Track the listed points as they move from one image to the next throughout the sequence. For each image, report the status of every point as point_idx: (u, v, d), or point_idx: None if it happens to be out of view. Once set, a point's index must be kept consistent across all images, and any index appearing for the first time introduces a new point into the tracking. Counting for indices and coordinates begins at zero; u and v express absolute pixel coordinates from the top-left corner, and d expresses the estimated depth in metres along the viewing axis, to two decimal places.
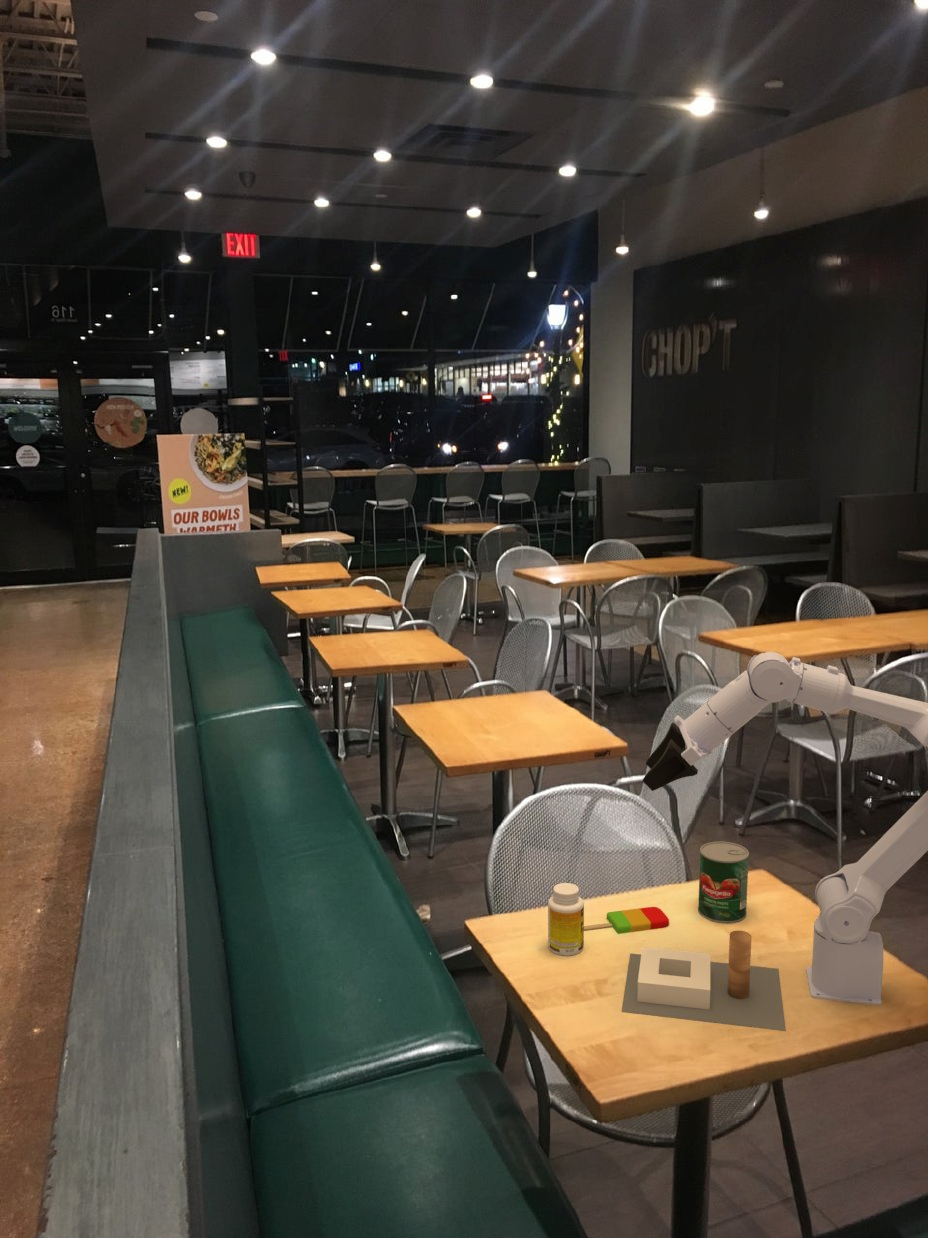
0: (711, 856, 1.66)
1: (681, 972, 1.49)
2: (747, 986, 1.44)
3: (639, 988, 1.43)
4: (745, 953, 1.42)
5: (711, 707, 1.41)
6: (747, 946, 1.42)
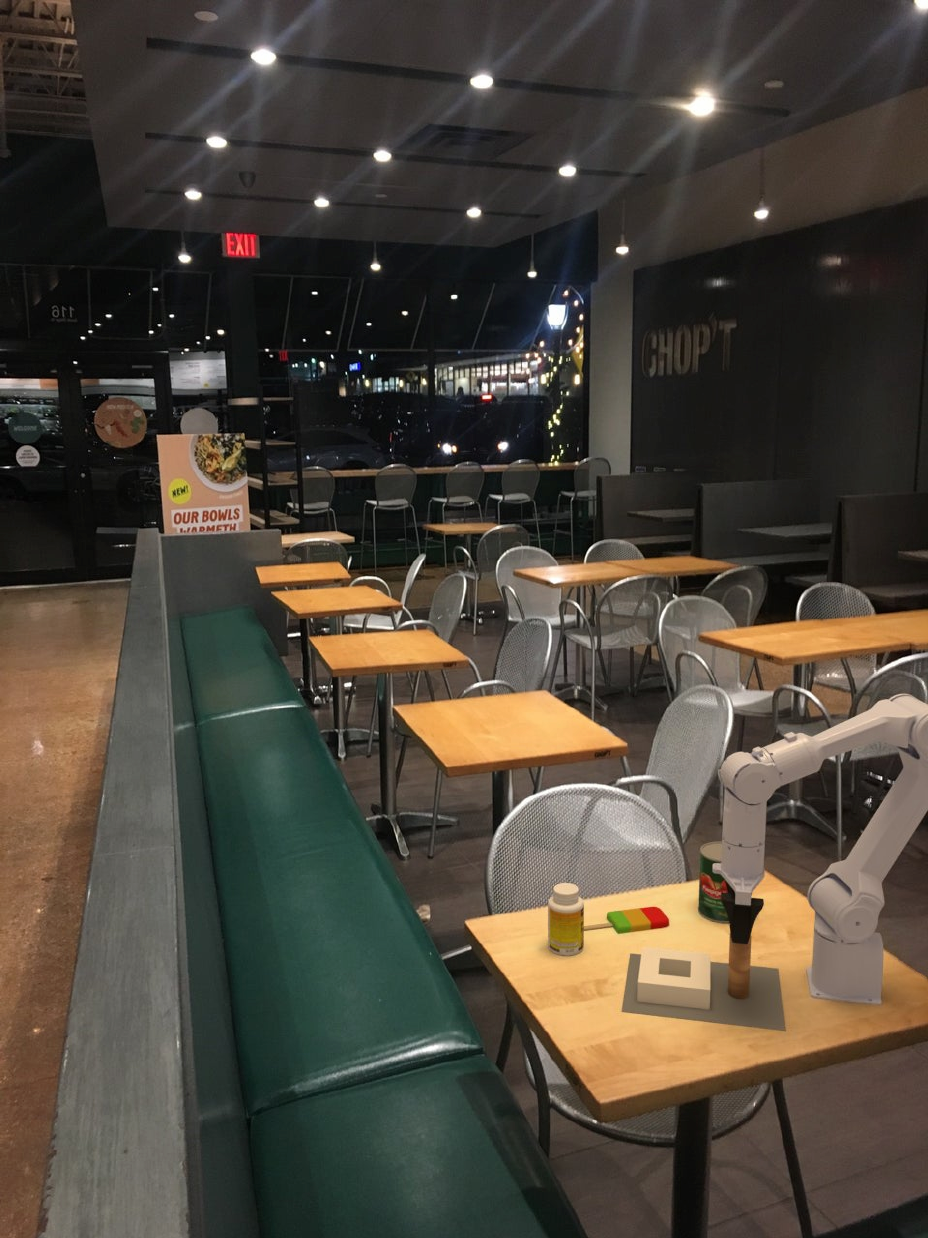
0: (711, 856, 1.66)
1: (681, 972, 1.49)
2: (747, 986, 1.44)
3: (639, 988, 1.43)
4: (745, 953, 1.42)
5: (732, 842, 1.39)
6: (747, 946, 1.42)
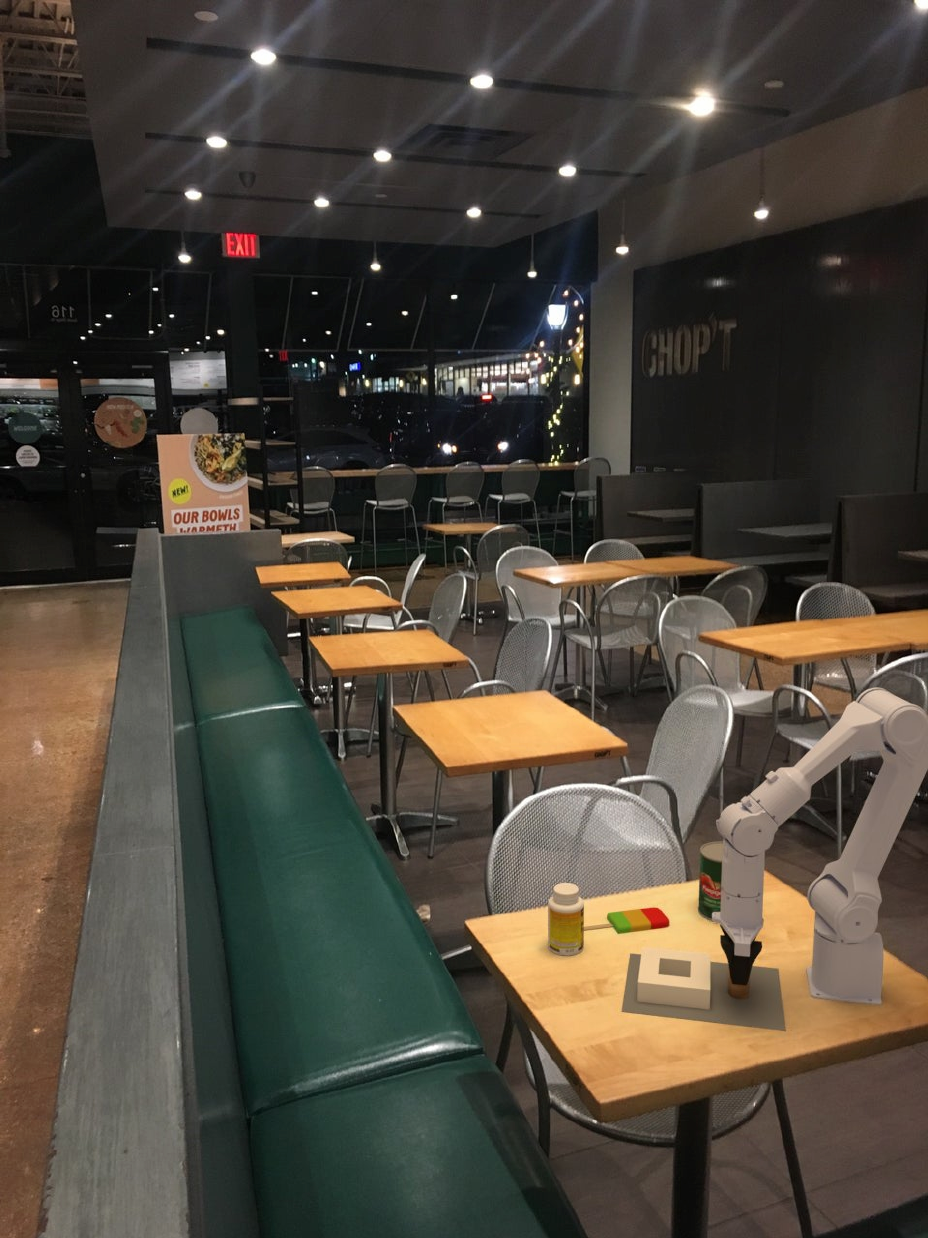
0: (711, 856, 1.66)
1: (681, 972, 1.49)
2: (747, 986, 1.44)
3: (639, 988, 1.43)
4: None
5: (731, 893, 1.40)
6: None
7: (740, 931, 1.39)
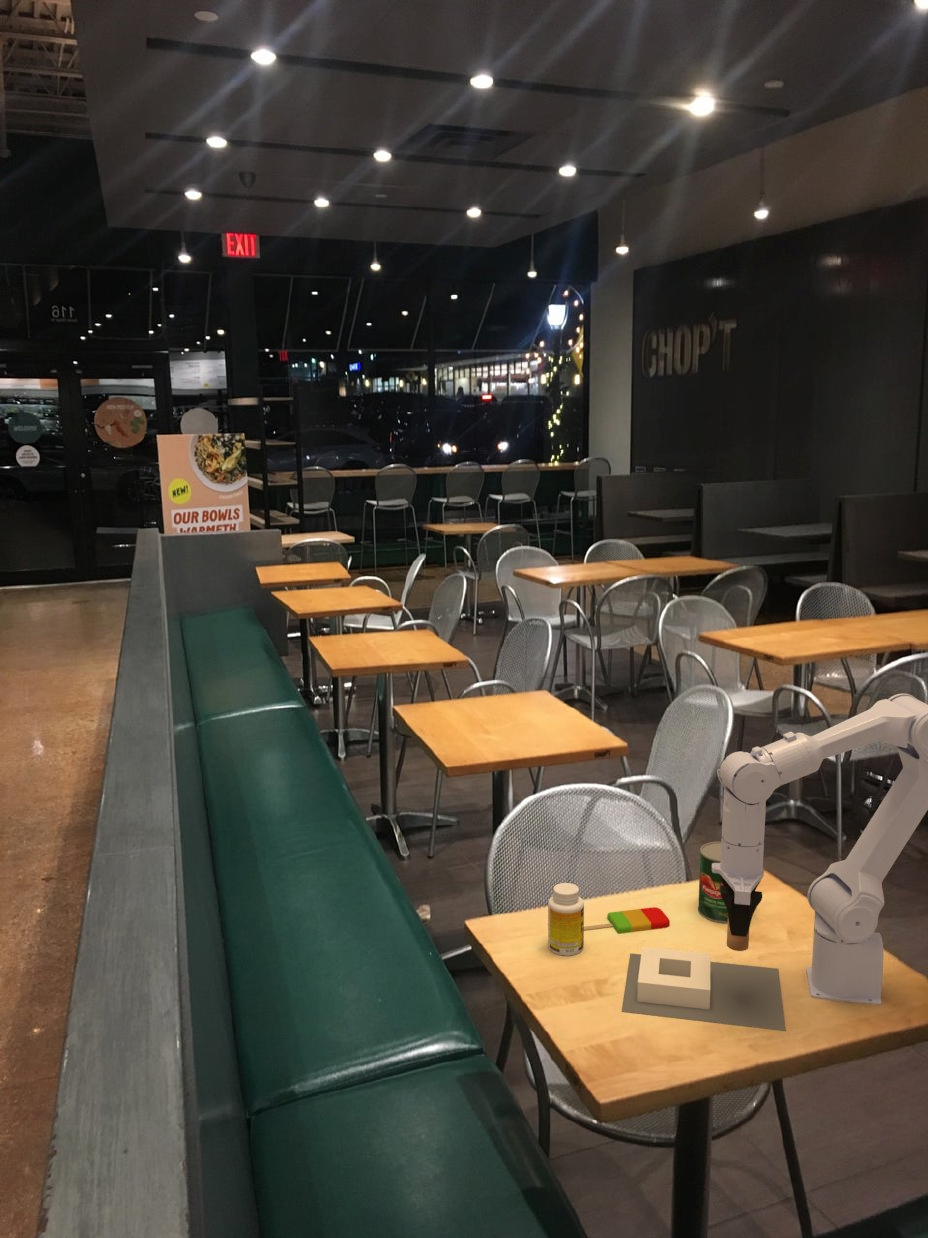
0: (711, 856, 1.66)
1: (681, 972, 1.49)
2: (746, 938, 1.42)
3: (639, 988, 1.43)
4: None
5: (731, 842, 1.39)
6: None
7: (740, 880, 1.38)
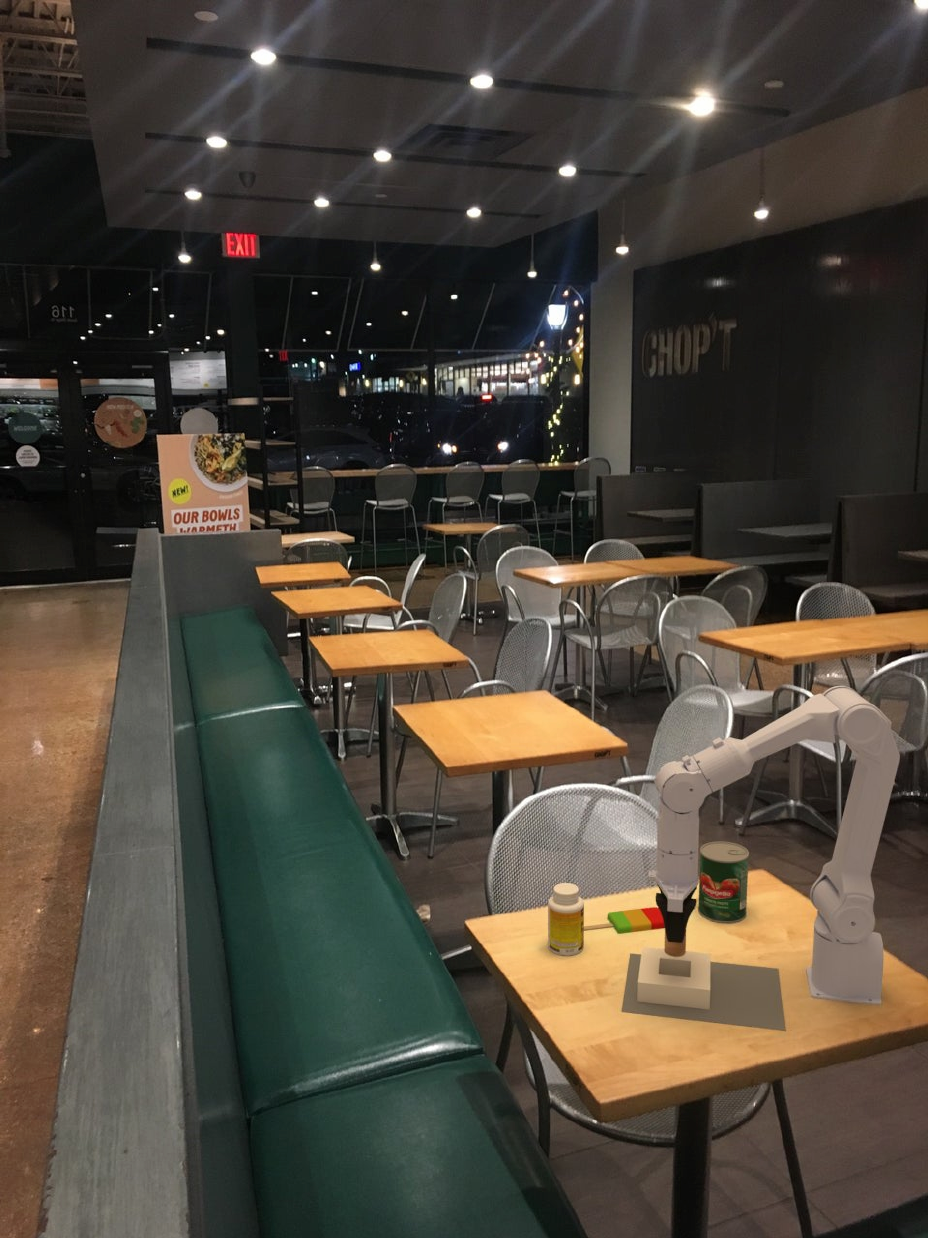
0: (711, 856, 1.66)
1: (681, 972, 1.49)
2: (683, 944, 1.45)
3: (639, 988, 1.43)
4: None
5: (663, 850, 1.41)
6: None
7: (674, 888, 1.40)
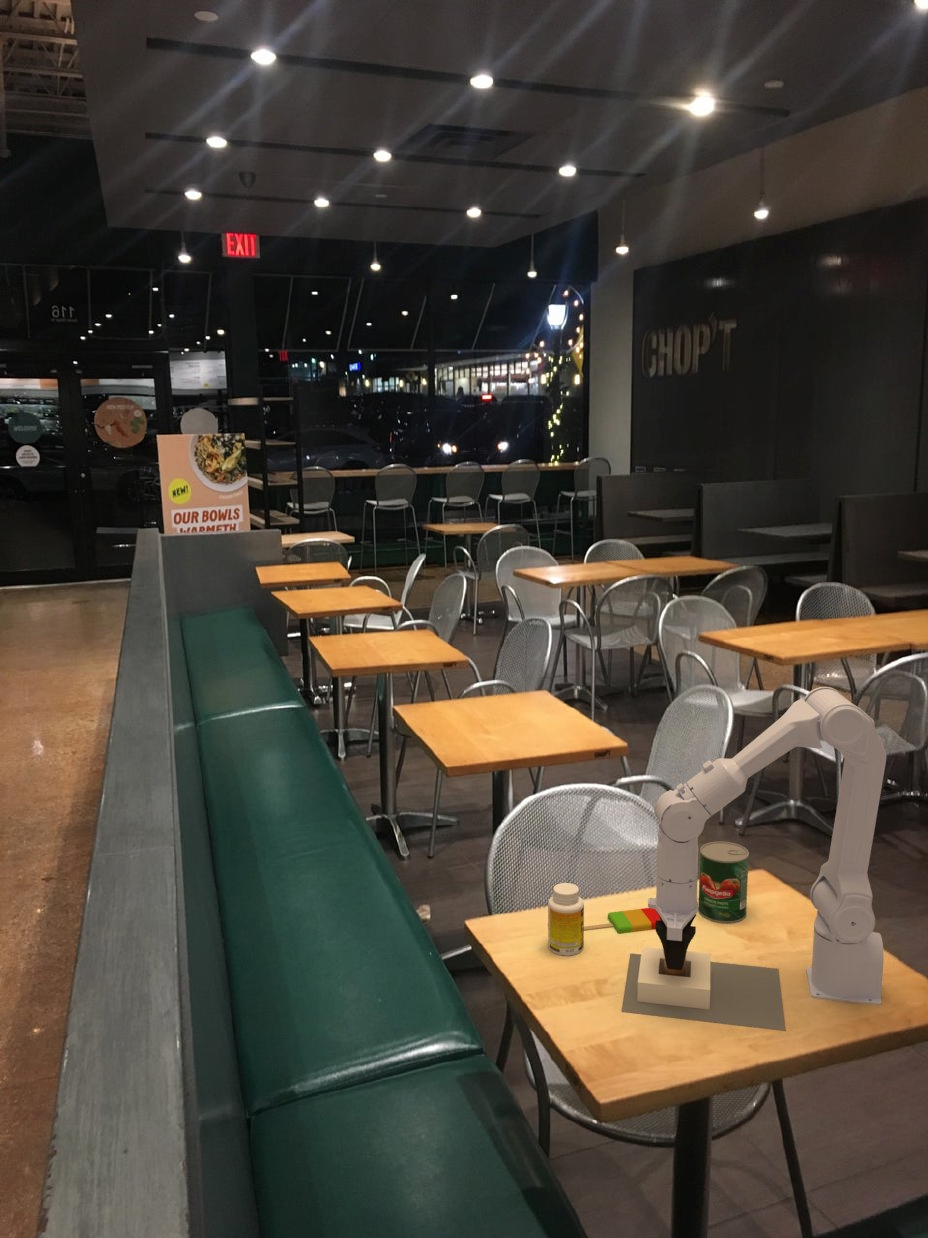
0: (711, 856, 1.66)
1: None
2: (682, 971, 1.46)
3: (639, 988, 1.43)
4: None
5: (663, 878, 1.42)
6: None
7: (674, 916, 1.41)
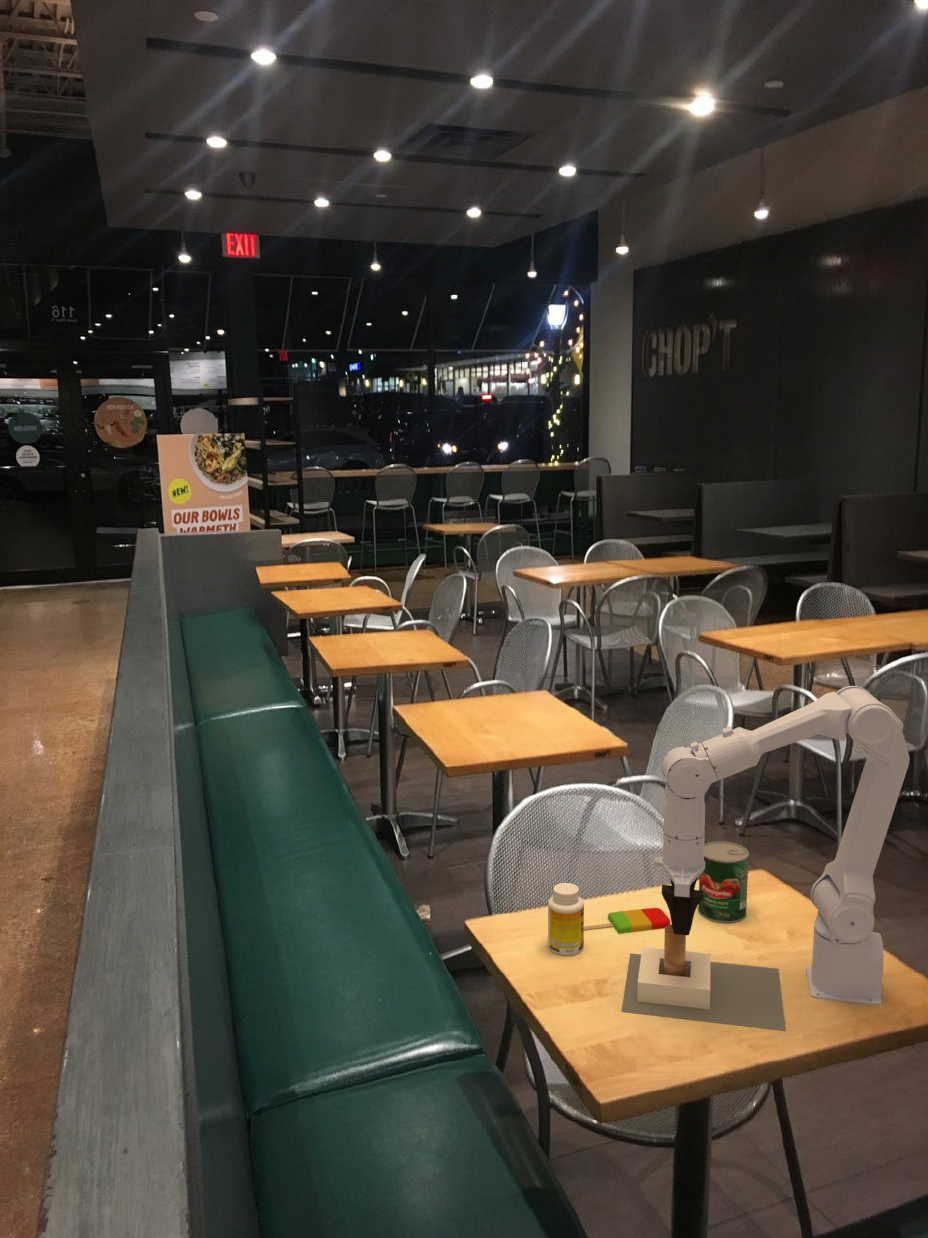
0: (711, 856, 1.66)
1: None
2: None
3: (639, 988, 1.43)
4: (680, 947, 1.45)
5: (669, 835, 1.42)
6: (681, 939, 1.44)
7: (681, 873, 1.41)
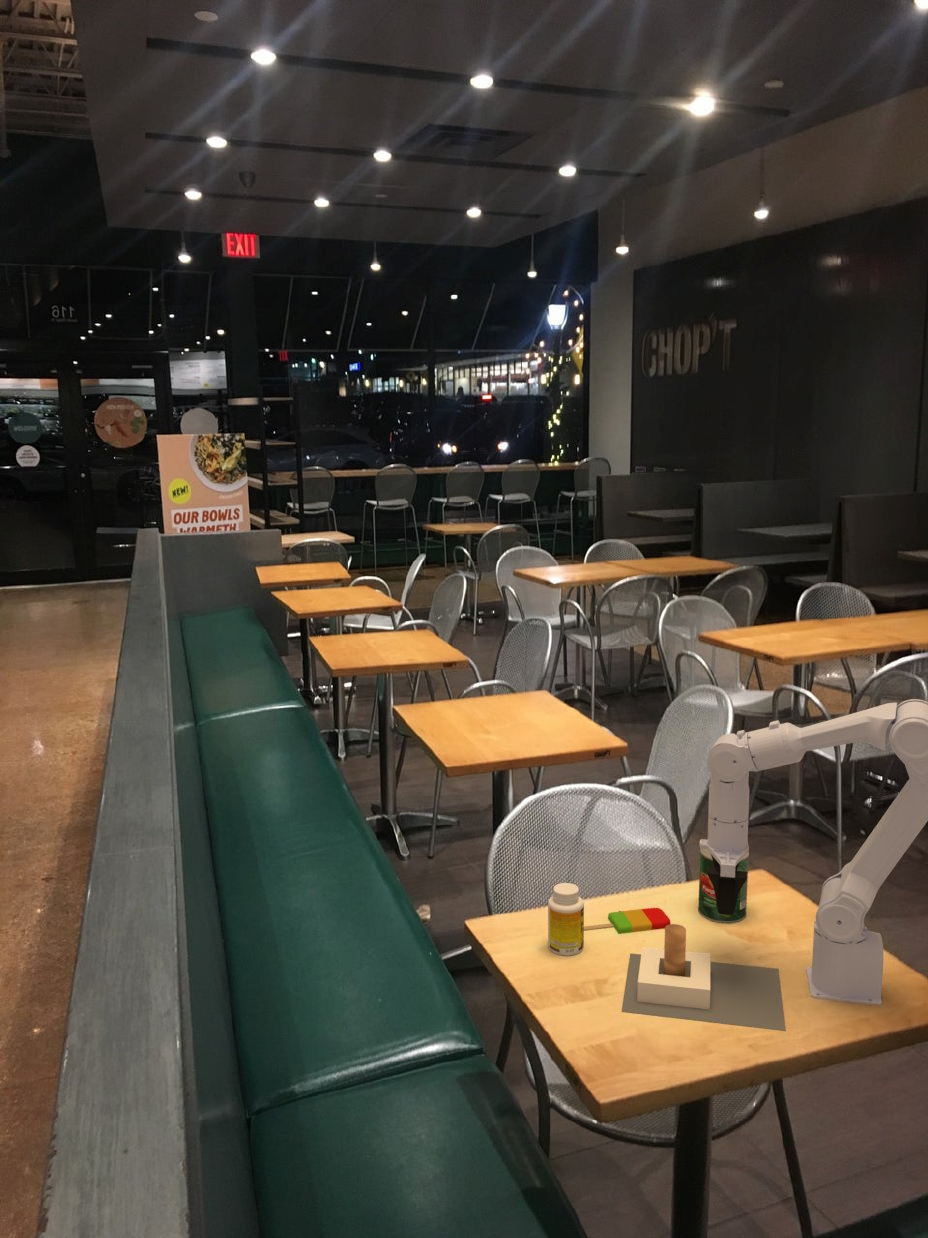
0: (711, 856, 1.66)
1: None
2: None
3: (639, 988, 1.43)
4: (680, 946, 1.45)
5: (710, 815, 1.48)
6: (682, 939, 1.44)
7: (726, 855, 1.46)
